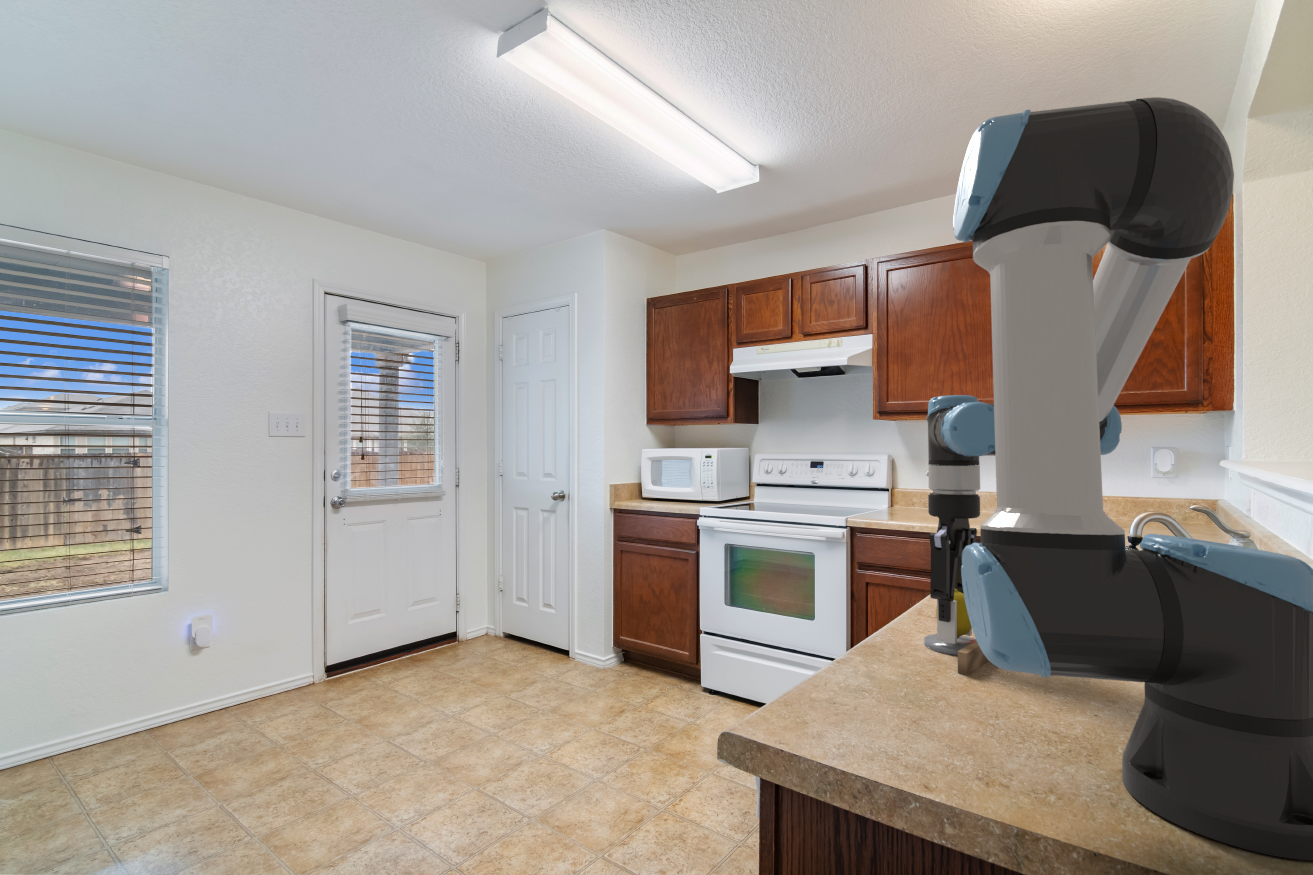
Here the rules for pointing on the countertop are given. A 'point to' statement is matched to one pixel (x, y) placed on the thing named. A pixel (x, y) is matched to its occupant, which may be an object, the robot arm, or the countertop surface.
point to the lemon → (961, 614)
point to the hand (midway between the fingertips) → (954, 637)
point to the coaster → (947, 644)
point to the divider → (970, 658)
